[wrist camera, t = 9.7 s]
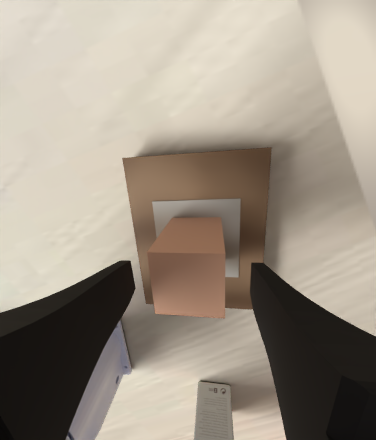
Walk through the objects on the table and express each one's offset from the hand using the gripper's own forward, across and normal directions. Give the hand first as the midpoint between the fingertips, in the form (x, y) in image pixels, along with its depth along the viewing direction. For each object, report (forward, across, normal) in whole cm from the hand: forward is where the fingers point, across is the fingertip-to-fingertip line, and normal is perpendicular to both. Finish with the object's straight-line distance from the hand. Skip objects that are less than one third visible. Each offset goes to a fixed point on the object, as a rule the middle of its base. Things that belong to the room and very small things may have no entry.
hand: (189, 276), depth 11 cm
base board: (+7, 0, 0) cm, 7 cm away
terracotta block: (+5, 0, 0) cm, 5 cm away
